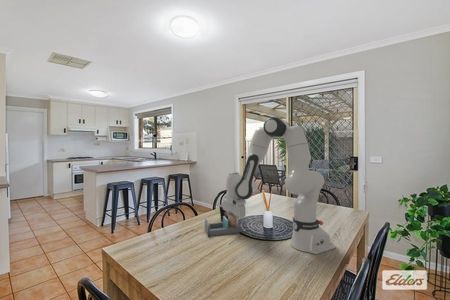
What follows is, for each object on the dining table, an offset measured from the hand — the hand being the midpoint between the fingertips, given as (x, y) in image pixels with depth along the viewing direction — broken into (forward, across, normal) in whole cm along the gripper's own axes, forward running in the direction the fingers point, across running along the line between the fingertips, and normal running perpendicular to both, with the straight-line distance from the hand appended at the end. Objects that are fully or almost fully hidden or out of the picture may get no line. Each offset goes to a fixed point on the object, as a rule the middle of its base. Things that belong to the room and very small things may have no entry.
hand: (233, 220), depth 136 cm
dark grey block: (+5, -2, -7) cm, 9 cm away
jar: (+4, 0, 0) cm, 4 cm away
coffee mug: (+6, -16, +6) cm, 18 cm away
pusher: (+5, -1, -5) cm, 7 cm away
